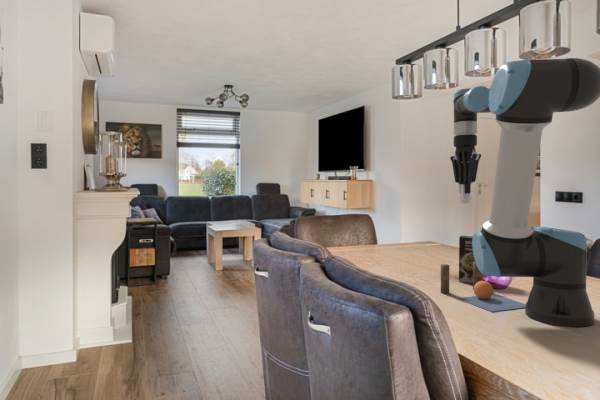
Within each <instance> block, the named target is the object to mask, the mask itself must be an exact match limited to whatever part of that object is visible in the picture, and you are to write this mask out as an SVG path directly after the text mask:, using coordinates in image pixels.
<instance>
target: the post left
mask: <svg viewBox="0 0 600 400" xmlns="http://www.w3.org/2000/svg"><path fill="white" fill-rule="evenodd" d="M440 293H441V294H443V295H448V294H449V295H450V264H445V263H443V264H440Z"/></svg>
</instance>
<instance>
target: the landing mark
mask: <svg viewBox="0 0 600 400" xmlns="http://www.w3.org/2000/svg"><path fill="white" fill-rule="evenodd" d="M457 300H460V301H463V302H465V303H467V304H470V305H473V306H475V307H478V308H480V309H483V310H484V311H485V310H486V311H488V312H491V313H496V312H503V311H504V312H505V311H513V310H521V309H525V305H526V303H523V302H520V301H517V300H514V299H511V298H508V297H505V296H501V295H499V294H496V293H493V295H492V296H491V297H490V298H489V299H480V298H478V297H477V296H476V295H475V296H464V297H457Z"/></svg>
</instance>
